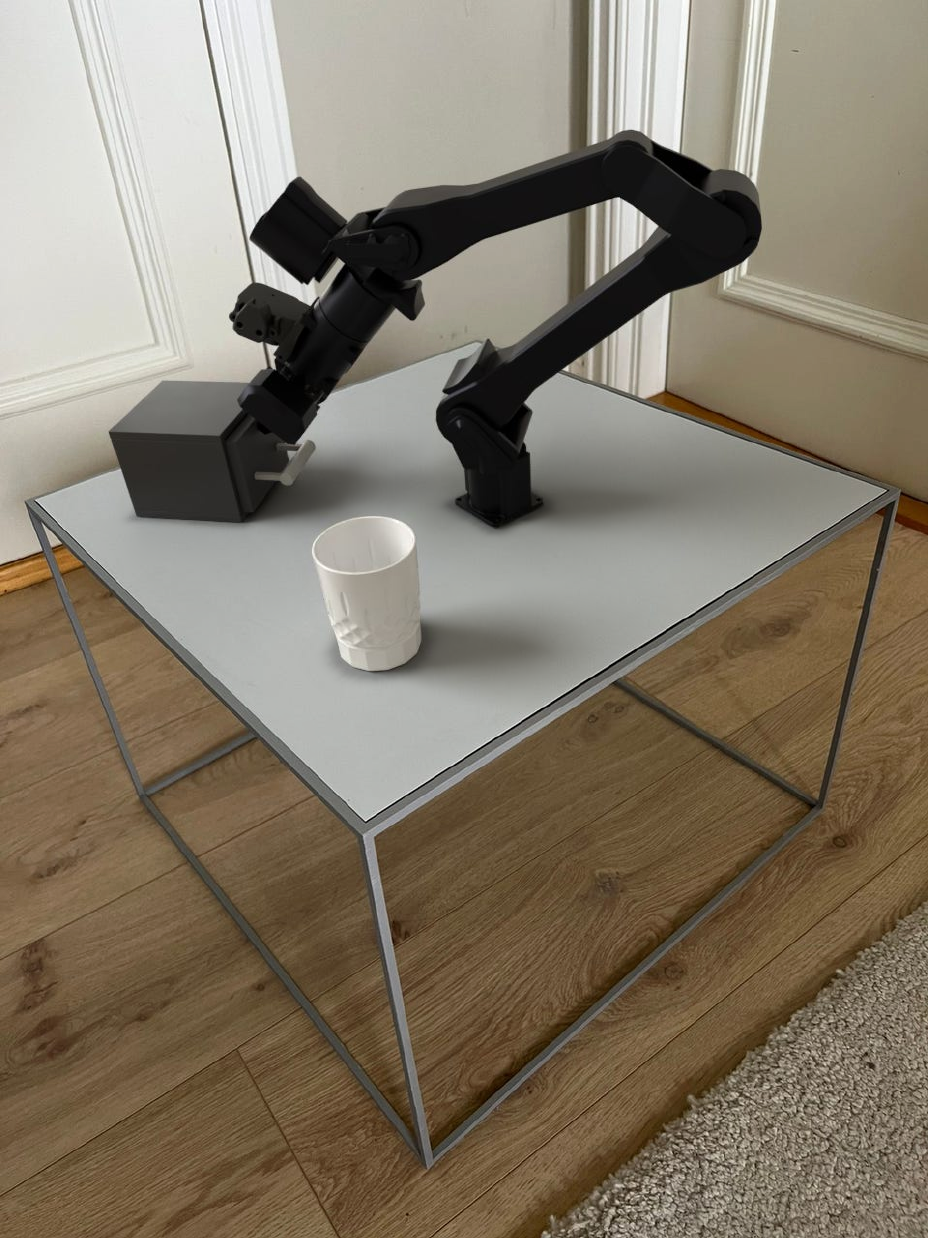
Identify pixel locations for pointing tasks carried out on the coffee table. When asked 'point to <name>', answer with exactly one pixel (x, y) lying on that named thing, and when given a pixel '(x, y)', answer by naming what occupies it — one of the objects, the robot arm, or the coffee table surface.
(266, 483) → the drawer
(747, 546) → the coffee table surface
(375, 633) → the white cup
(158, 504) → the cabinet
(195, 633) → the coffee table surface
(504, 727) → the coffee table surface
